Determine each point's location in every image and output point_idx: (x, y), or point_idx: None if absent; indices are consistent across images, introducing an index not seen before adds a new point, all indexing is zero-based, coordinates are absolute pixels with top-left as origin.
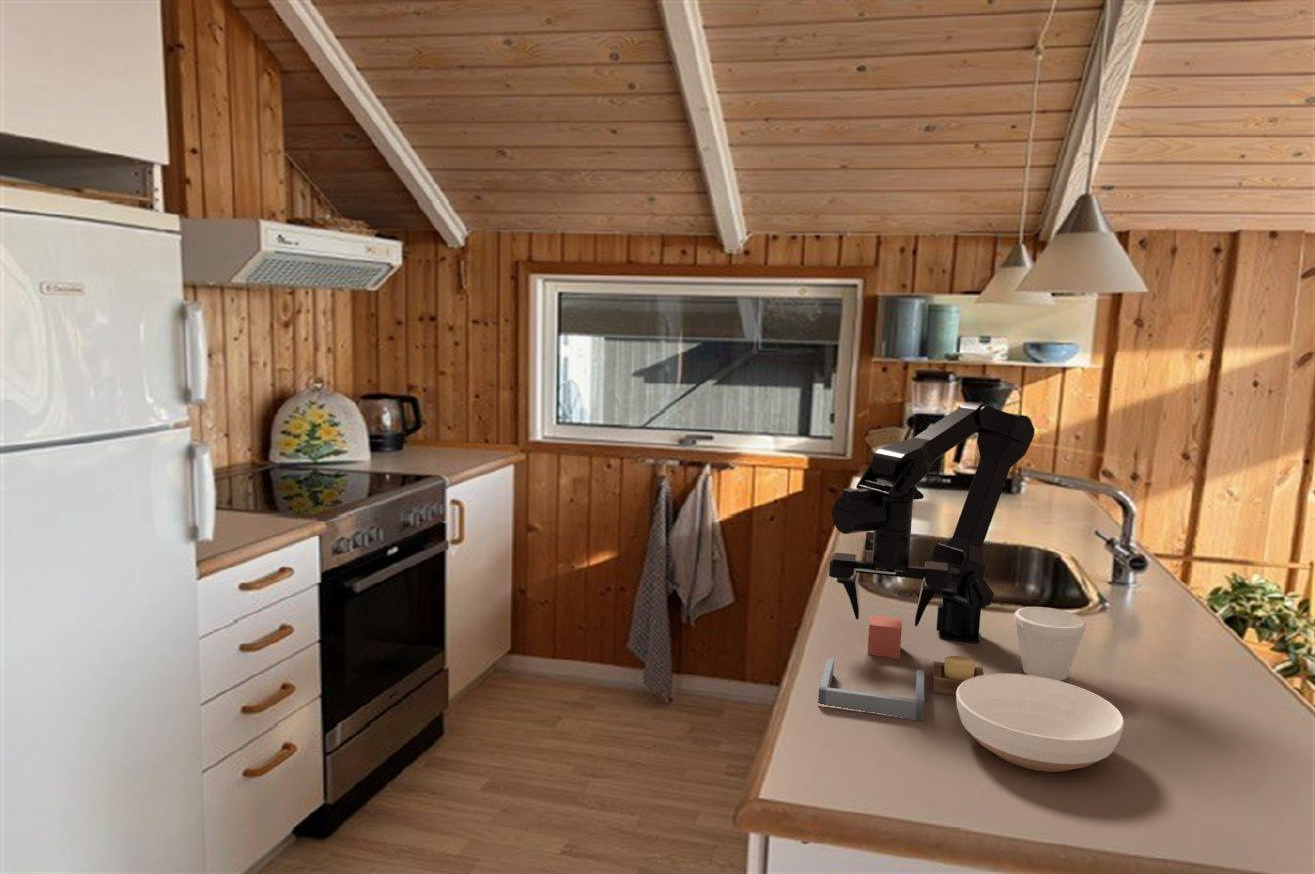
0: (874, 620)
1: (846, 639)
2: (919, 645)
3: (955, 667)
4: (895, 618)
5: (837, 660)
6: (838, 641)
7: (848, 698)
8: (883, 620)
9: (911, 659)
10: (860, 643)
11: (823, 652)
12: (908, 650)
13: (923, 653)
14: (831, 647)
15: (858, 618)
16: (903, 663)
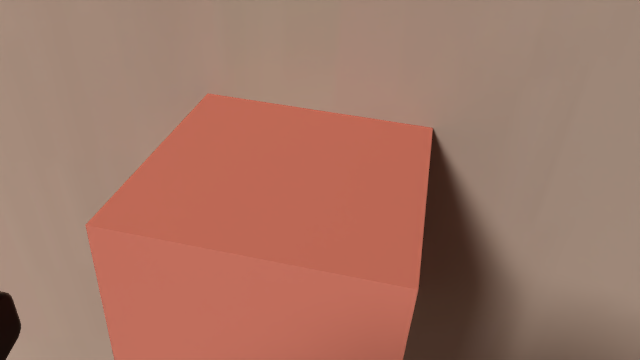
0: (148, 346)
1: (51, 44)
2: (619, 59)
3: None
4: (342, 295)
5: (94, 336)
6: (18, 93)
7: None
8: (224, 344)
9: (470, 308)
10: (153, 103)
11: (7, 260)
12: (485, 178)
13: (589, 217)
14: (16, 194)
15: (17, 336)
16: (409, 354)
